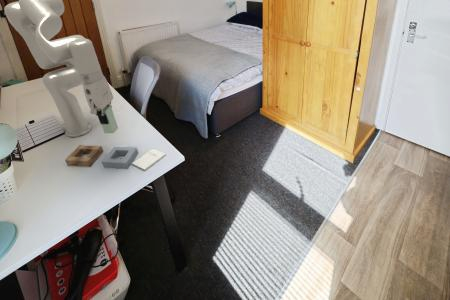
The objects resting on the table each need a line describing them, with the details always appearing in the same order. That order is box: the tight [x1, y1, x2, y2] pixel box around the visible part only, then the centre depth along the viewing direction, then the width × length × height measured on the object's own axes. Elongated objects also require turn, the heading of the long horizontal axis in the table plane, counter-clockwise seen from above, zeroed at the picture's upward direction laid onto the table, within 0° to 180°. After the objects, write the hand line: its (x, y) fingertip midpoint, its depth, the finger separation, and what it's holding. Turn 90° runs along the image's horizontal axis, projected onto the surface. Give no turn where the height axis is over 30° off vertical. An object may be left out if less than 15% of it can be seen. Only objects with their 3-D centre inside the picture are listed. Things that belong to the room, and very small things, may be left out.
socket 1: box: [65, 144, 104, 168], centre depth 124 cm, size 11×11×3 cm
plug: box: [98, 105, 119, 134], centre depth 110 cm, size 4×4×10 cm
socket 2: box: [101, 146, 139, 170], centre depth 121 cm, size 11×11×3 cm
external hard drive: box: [131, 148, 167, 172], centre depth 121 cm, size 2×8×12 cm
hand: (107, 120), depth 110 cm, fingers closed on plug, 4 cm apart
